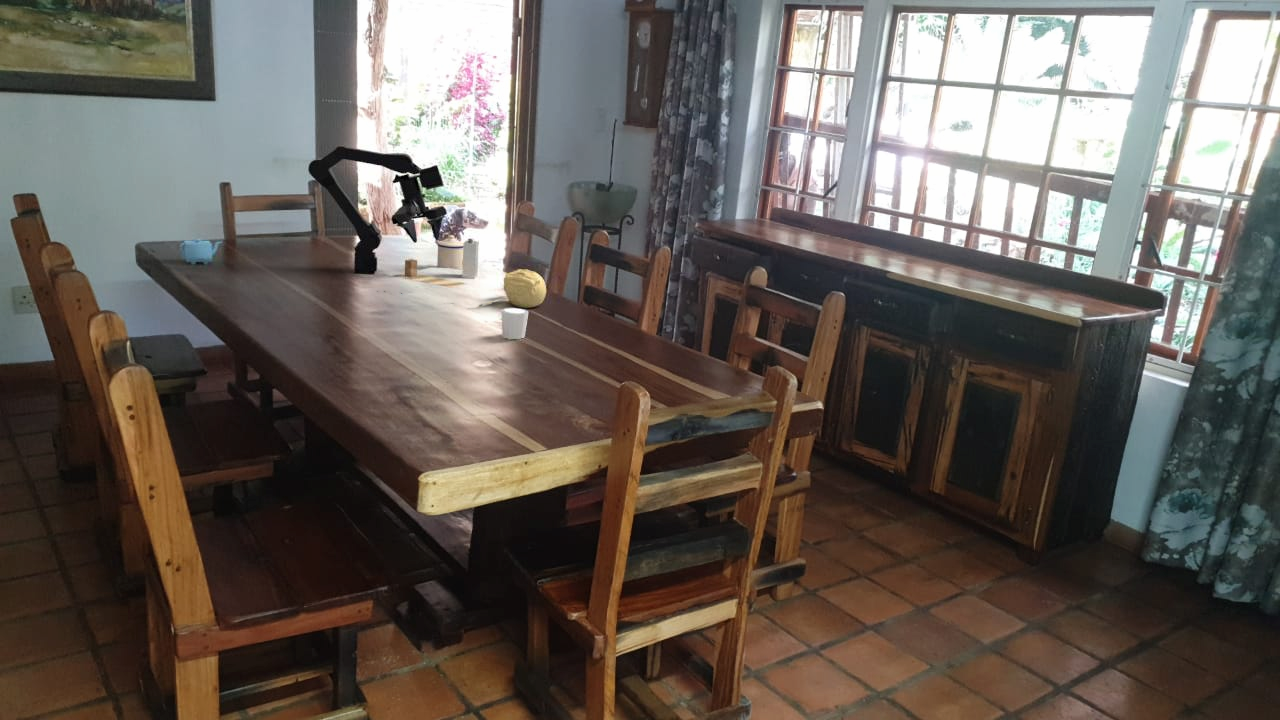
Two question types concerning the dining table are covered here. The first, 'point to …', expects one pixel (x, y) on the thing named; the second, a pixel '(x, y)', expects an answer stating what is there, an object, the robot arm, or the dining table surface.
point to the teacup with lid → (450, 253)
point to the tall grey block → (470, 259)
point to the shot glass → (514, 323)
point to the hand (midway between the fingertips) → (426, 241)
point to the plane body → (412, 275)
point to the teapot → (198, 251)
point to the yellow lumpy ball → (524, 288)
